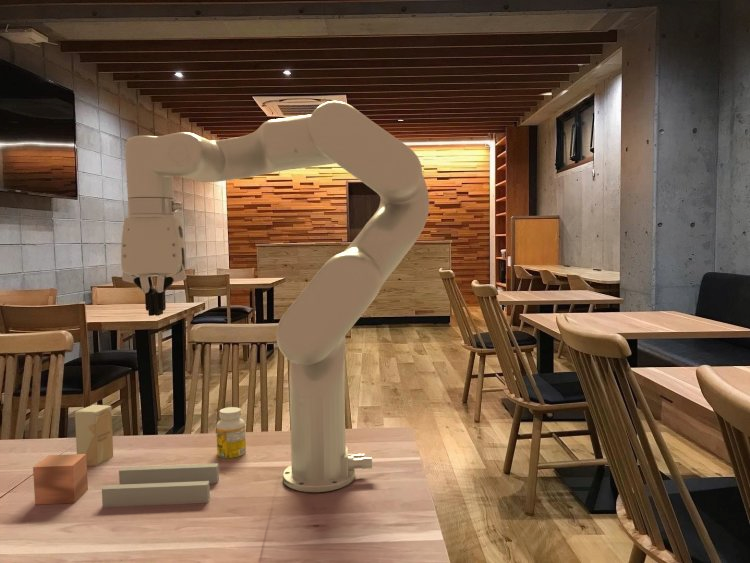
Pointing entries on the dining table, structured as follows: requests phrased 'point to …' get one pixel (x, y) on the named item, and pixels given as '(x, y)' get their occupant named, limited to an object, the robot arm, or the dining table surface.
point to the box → (94, 433)
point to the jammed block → (60, 479)
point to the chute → (161, 485)
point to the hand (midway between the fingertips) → (156, 314)
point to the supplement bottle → (230, 433)
